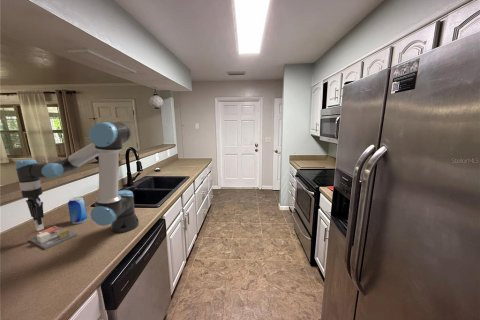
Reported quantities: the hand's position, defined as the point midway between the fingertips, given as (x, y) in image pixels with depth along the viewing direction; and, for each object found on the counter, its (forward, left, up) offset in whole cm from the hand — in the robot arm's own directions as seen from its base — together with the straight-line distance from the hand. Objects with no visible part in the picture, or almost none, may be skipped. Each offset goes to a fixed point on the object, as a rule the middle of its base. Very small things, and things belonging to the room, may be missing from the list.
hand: (40, 229), depth 109 cm
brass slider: (-10, -5, -5) cm, 12 cm away
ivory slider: (-5, +1, -5) cm, 7 cm away
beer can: (+5, -20, -6) cm, 22 cm away
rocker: (+1, -3, -3) cm, 4 cm away
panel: (-4, -3, -6) cm, 8 cm away
